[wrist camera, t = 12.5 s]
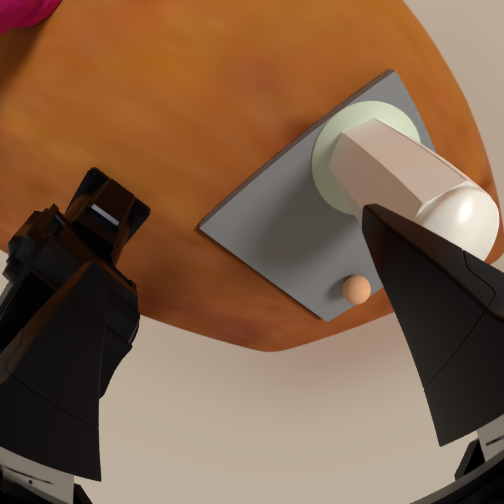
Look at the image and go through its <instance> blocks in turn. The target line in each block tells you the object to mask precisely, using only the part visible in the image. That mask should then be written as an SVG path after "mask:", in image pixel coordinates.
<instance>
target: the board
mask: <svg viewBox="0 0 504 504" xmlns="http://www.w3.org/2000/svg"><path fill="white" fill-rule="evenodd" d="M372 118H376V119H378V120H380V121H382V122H384V123H386V124H388V125H390V126H391V127H393V128H395V129H397V130H399V131H402V132H403V133H405V134H407V135H408V136H410V137H412V138H413V139H415V140H416V141H418V142H420V143H421V144H423V145H424V146H426V147H427V148H429V149H430V150H432V151H433V152H435V153H436V151H435V148H434V146H433V143H432V141H431V138H430V136H429V134H428V132H427V129H426V127H425V125H424V123H423V121H422V118H421V116H420V114H419V112H418V110H417V108H416V106H415V104H414V102H413V100H412V99H411V97H410V95H409V93H408V91H407V89H406V87H405V86H404V84H403V82H402V80H401V79H400V77H399V75H398V74H397V72H396V71H395V70H390V69H389V70H387V71H386V72H384V73H383V74H381V75H380V76H378V77H377V78H376V79H374V80H373V81H371V82H370V83H368V84H367V85H366V86H364V87H363V88H361V89H360V90H359V91H357V92H356V93H355V94H353V95H352V96H350V97H349V98H348V99H346V100H345V101H344V102H342V103H341V104H340V105H338V106H337V107H336V108H334V109H333V110H332V111H330V112H329V113H328V114H326V115H325V116H324V117H323V118H321V119H320V120H319V121H317V122H316V123H315V124H314V125H312V126H311V127H310V128H308V129H307V130H306V131H305V132H303V133H302V134H301V135H300V136H298V137H297V138H296V139H295V140H293V141H292V142H291V143H290V144H289V145H287V146H286V147H285V148H284V149H282V150H281V151H280V152H279V153H278V154H276V155H275V156H274V157H273V158H272V159H270V160H269V161H268V162H267V163H266V164H264V165H263V166H262V167H261V168H260V169H259V170H257V171H256V172H255V173H254V174H253V175H252V176H250V177H249V178H248V179H247V180H246V181H245V182H243V183H242V184H241V185H240V186H239V187H238V188H237V189H235V190H234V191H233V192H232V193H231V194H230V195H229V196H228V197H226V198H225V199H224V200H223V201H222V202H221V203H220V204H219V205H218V206H217V207H215V208H214V209H213V210H212V211H211V212H210V213H209V214H208V215H207V216H206V217H205V218H203V219H202V220H201V221H200V226H199V229H201V230H202V231H203V232H205V233H206V234H207V235H209V236H210V237H211V238H213V239H214V240H215V241H217V242H218V243H220V244H221V245H222V246H224V247H225V248H226V249H228V250H229V251H230V252H232V253H233V254H234V255H236V256H237V257H238V258H240V259H241V260H242V261H244V262H245V263H247V264H248V265H249V266H251V267H252V268H253V269H255V270H256V271H257V272H259V273H260V274H262V275H263V276H264V277H266V278H267V279H268V280H270V281H271V282H272V283H274V284H275V285H277V286H278V287H279V288H281V289H282V290H283V291H285V292H286V293H288V294H289V295H290V296H292V297H293V298H294V299H296V300H297V301H299V302H300V303H301V304H303V305H304V306H305V307H307V308H308V309H310V310H311V311H312V312H314V313H315V314H317V315H318V316H319V317H321V318H322V319H323V320H325V321H326V322H328V321H330V320H331V319H333V318H335V317H336V316H338V315H340V314H341V313H343V312H345V311H346V310H348V309H350V308H351V307H353V306H355V305H356V304H351V303H349V302H348V301H347V300H346V299H345V298H344V296H343V285H344V283H345V281H346V280H347V279H348V278H349V277H351V276H354V275H360V276H363V277H365V278H366V279H367V280H368V282H369V283H370V287H371V292H370V295H372V294H374V293H375V292H377V291H378V290H380V289H381V288H383V285H382V282H381V280H380V278H379V276H378V274H377V271H376V269H375V266H374V263H373V260H372V257H371V255H370V252H369V249H368V246H367V244H366V241H365V239H364V236H363V233H362V226H361V224H360V223H359V221H358V220H357V218H356V217H355V215H354V214H353V212H352V211H351V209H350V208H349V206H348V205H347V203H346V202H345V200H344V199H343V197H342V196H341V195H340V192H339V190H338V187H337V185H336V182H335V180H334V178H333V175H332V173H331V171H330V168H329V166H328V164H329V162H330V159H331V157H332V154H333V152H334V150H335V147H336V145H337V142H338V140H339V137H340V135H341V132H342V131H345V130H347V129H349V128H351V127H353V126H356V125H358V124H360V123H363V122H365V121H367V120H370V119H372ZM436 154H437V153H436Z"/></svg>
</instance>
